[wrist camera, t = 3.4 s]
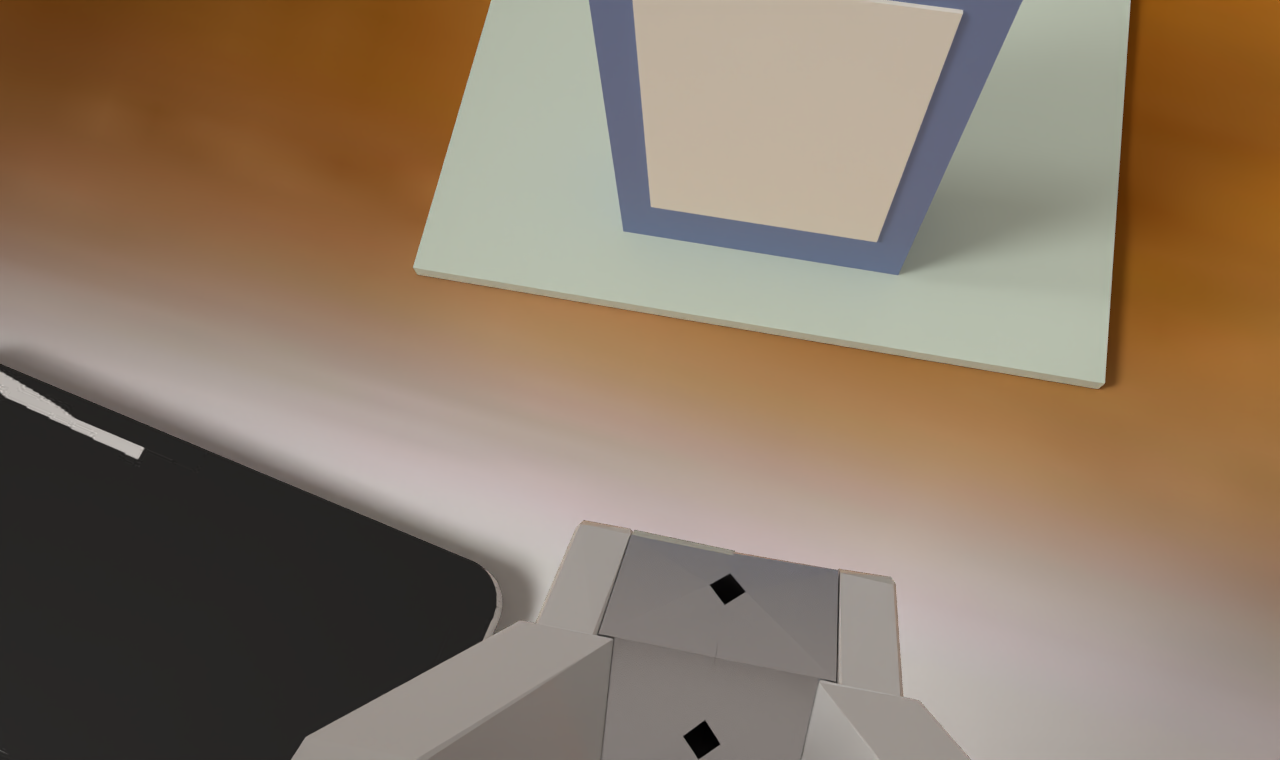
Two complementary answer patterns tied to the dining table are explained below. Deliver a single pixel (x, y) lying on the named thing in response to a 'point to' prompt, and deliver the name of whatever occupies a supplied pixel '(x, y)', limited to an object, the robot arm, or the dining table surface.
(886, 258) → the box
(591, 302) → the mat
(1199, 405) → the dining table surface
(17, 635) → the smartphone
